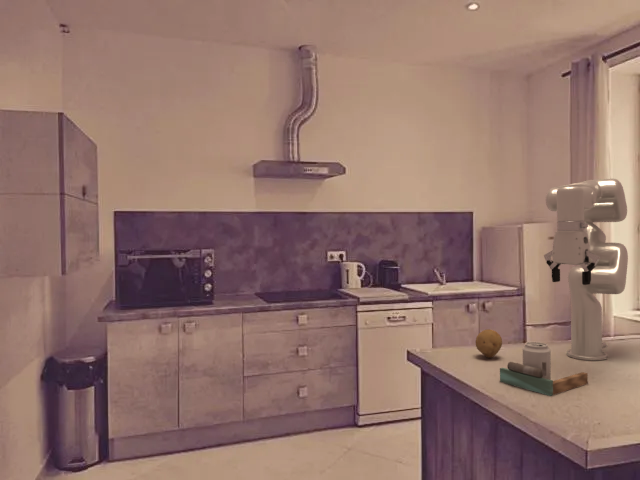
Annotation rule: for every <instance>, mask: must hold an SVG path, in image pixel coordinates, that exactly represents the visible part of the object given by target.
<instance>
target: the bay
mask: <svg viewBox="0 0 640 480" xmlns="http://www.w3.org/2000/svg"><path fill="white" fill-rule="evenodd" d="M543 376H546V362H542V369H539V368H535V367H531V366H527V365H523V363H518V362H513V361H509V362H508V363H507V368H506V367H499V382H500V383H504V384H506V385H510V386H514V387H518V388H521V389H524V390H527V391H530V392H531V391H532V392H535V393H539V394H542V395H545V396H549V397H552V396H555V395H558V394H560V393H565V392H567V391H570V390H572V389H575V388H578V387H581V386H584V385H588V384H589V381H588V378H589V377H588V376H589V375H588V372H587V373H586V372H583V371H581V372H579V373H575V374H571V375H568V376H565V377H563V378H558V379H555V380H552V379H551V380H549V379H545V378H542V377H543Z"/></svg>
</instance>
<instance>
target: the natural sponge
mask: <svg viewBox="0 0 640 480" xmlns="http://www.w3.org/2000/svg"><path fill="white" fill-rule="evenodd" d="M502 346H503V338H502V336H501V335H500V334H499V332H497V331H496V330H493V329H490V328H489V329H487V328H486V329H484V330H482V331H481V332H480V333H478V334H477V335H476V338H475V347H476V349H477V350H478V352H480V353H481V354H482V355H483V356H484V357H486V358H488V359H491V358H494V357H495V356H496V355H497V354H498V353H499V351H500V350H501V348H502Z"/></svg>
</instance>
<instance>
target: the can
mask: <svg viewBox="0 0 640 480" xmlns="http://www.w3.org/2000/svg"><path fill="white" fill-rule="evenodd" d="M542 362H546V376H543V377H542V378H545V379H549V380H552V379H551V378H552V377H551V375H552V373H551V367H552V366H551V365H552V364H551V349H550V348H549V344H548V343H545V342H541V341H527V342H525V343H524V346H523V347H522V365H527V366H531V367H535V368H539V369H542Z"/></svg>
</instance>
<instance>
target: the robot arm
mask: <svg viewBox="0 0 640 480" xmlns="http://www.w3.org/2000/svg"><path fill="white" fill-rule="evenodd" d="M545 204H546V207H547V209H548V210H550V211H551V212H556V231H555V232H554V236H553V243H552V250H551V251H549V252H547V253H545V254H543V258H544V260H545V263H546V265H548V267H549V269H550V270H551V280H552V283H558V282H561V269H560V266H561V265H574V266H573V267H571V268H570V269H569V270H568V274H567V281H568V282H567V283H568V288H569V294H570V330H571V331H570V336H571V337H570V338H571V339H570V342H571V343H570V344H571V345H570V349H567V350H566V356H568V357H570V358H572V359H577V360H581V361H604V360H606V359H608V354H607V353H606V352H604V351H603V349H605V348H607V347H608V344H607V343H606V342H605V341H604V342H603V317H602V316H603V315H602V314H603V311H602V307H603V306H602V304H601V302H600V301H599V299H597V297H596V294H600V295H605V294H606V295H620V294H622V293H623V292H624V291H625V288H626V283H627V274H628V273H627V272H628V264H629V255H628V254H629V253H628V249H627V247H626V246H625V245H624V244H622V243H621V242H606V240H607V236H606V234H605V232H604V231H603V230H602V228H601V227H599V226H597V225H596V224H595V223H618V222H619V223H620V222H623V221H624V220H626V218H627V216H628V205H627V199H626V195H625V189H624V187H623V184H622V183H621V182H620V180H619V179H616V178H604V179H601V178H600V179H599V178H598V179H587V180H584V181H581V182H576V183H570V184H565V185H559V186H554V187H551V188H549V189H548V190H547V192H546V195H545ZM551 257H552V258H551ZM594 294H595V295H594Z"/></svg>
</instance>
